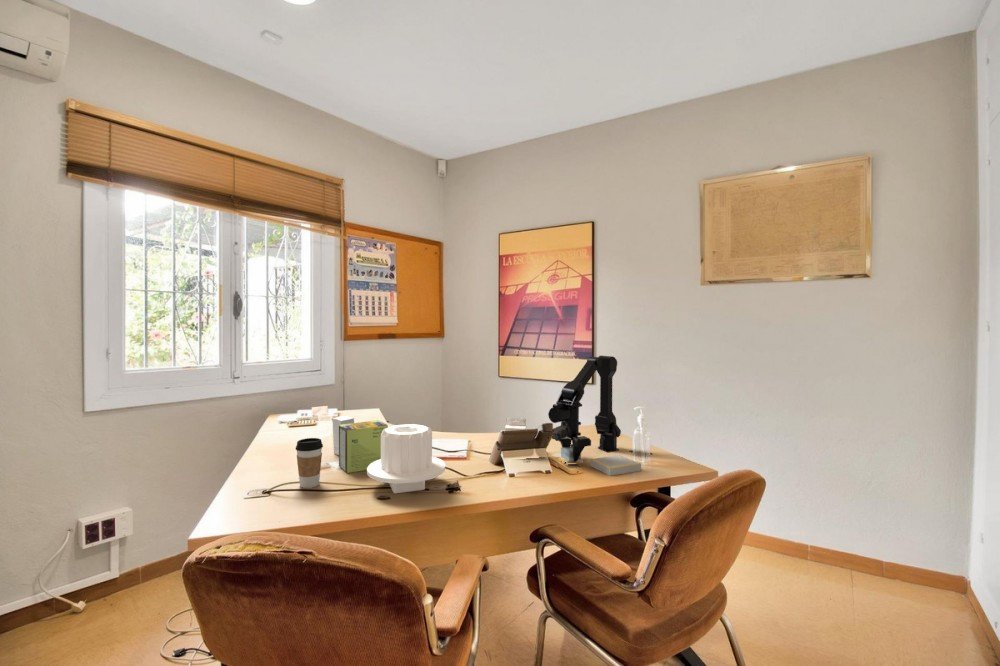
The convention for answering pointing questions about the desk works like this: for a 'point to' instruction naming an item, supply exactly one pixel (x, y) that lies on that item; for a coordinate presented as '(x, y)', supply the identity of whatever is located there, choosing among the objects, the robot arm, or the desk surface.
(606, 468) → the block
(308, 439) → the coffee cup
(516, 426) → the ink cartridge box
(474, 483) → the desk surface
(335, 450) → the skincare box
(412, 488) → the flanged gear
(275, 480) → the desk surface
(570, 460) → the pallet
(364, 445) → the protein box
